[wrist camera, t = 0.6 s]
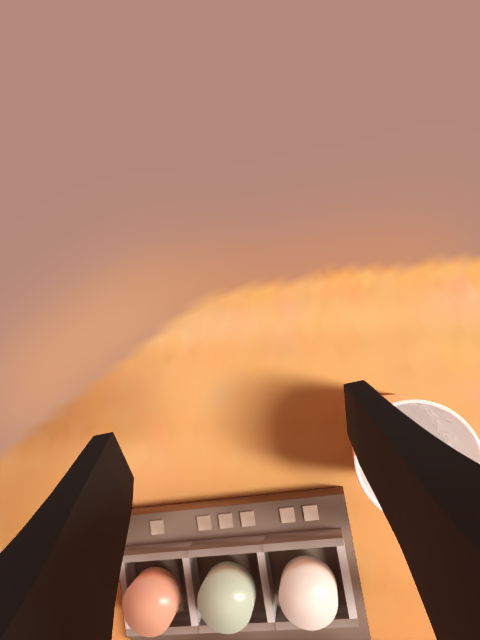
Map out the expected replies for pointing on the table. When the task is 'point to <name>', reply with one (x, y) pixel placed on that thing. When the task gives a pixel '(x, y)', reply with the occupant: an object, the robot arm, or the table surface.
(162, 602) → the terracotta button
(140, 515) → the button panel
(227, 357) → the table surface
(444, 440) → the white cup
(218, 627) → the sage button
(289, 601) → the off-white button
